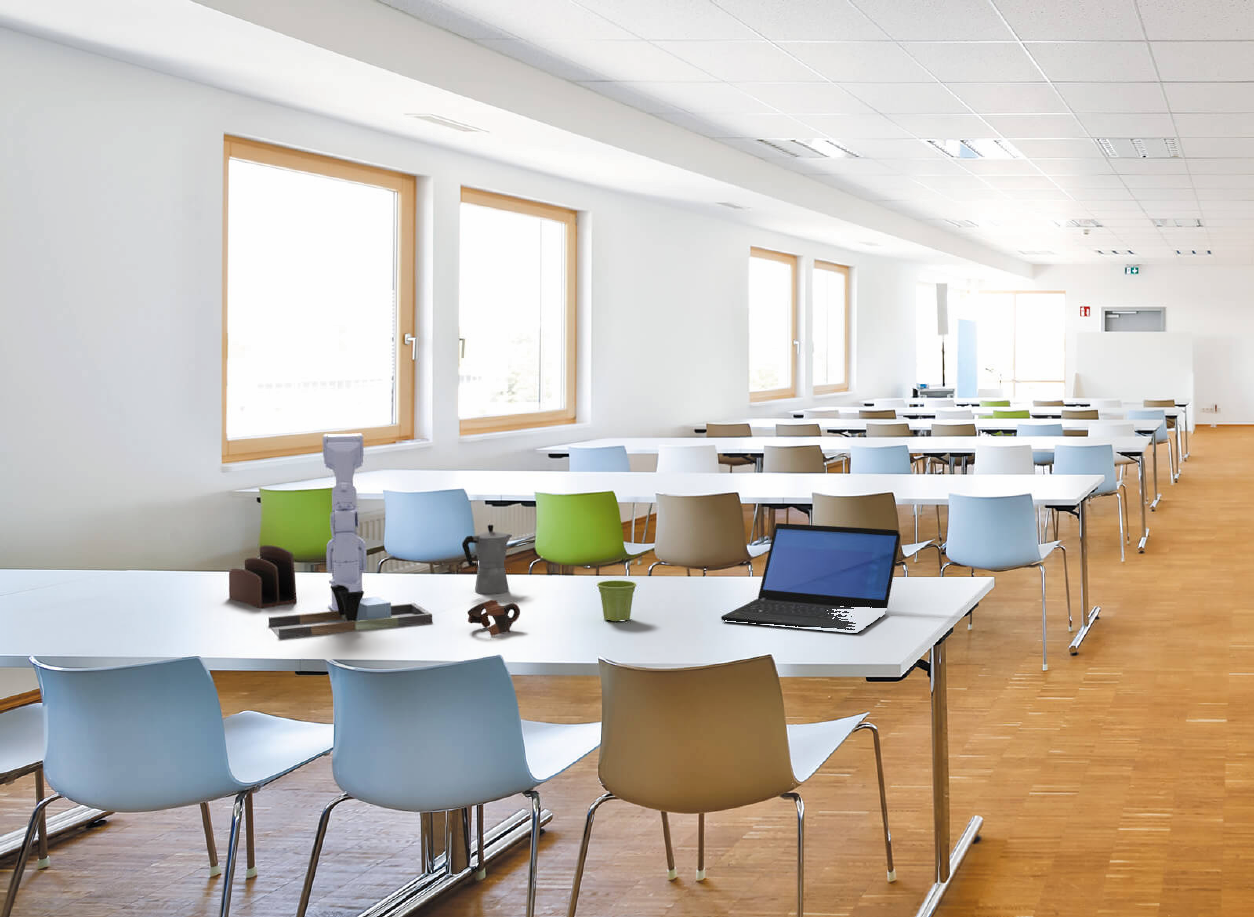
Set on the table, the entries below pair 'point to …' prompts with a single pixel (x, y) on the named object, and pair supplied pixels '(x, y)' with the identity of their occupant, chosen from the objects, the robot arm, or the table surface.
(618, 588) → the plant pot
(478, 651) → the table surface
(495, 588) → the coffeepot
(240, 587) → the letter holder
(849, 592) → the laptop
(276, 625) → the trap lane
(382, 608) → the blue block
